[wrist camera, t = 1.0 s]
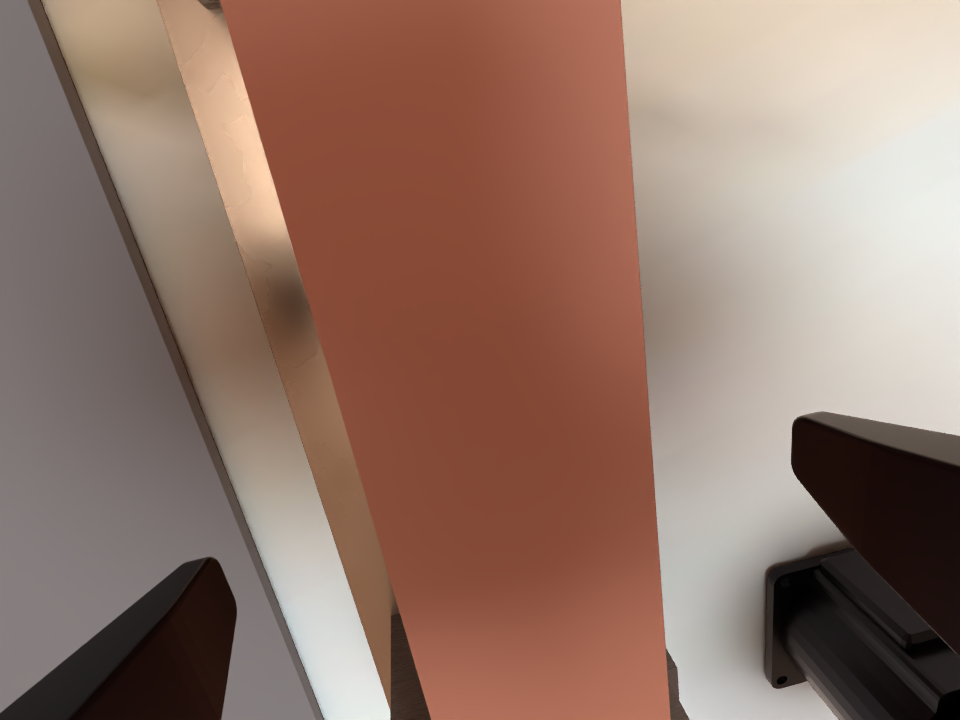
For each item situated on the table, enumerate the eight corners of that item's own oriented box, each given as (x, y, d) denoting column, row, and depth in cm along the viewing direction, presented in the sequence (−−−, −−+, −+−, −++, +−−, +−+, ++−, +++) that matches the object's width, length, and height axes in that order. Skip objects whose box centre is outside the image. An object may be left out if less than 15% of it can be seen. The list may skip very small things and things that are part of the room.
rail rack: (634, 624, 22) (779, 897, 14) (394, 688, 22) (396, 1018, 13) (547, -283, 13) (858, -1180, 4) (102, -230, 12) (-614, -1214, 3)
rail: (619, 782, 16) (687, 964, 13) (489, 819, 16) (519, 1019, 12) (458, -508, 7) (533, -1258, 3) (145, -483, 7) (-156, -1276, 3)
